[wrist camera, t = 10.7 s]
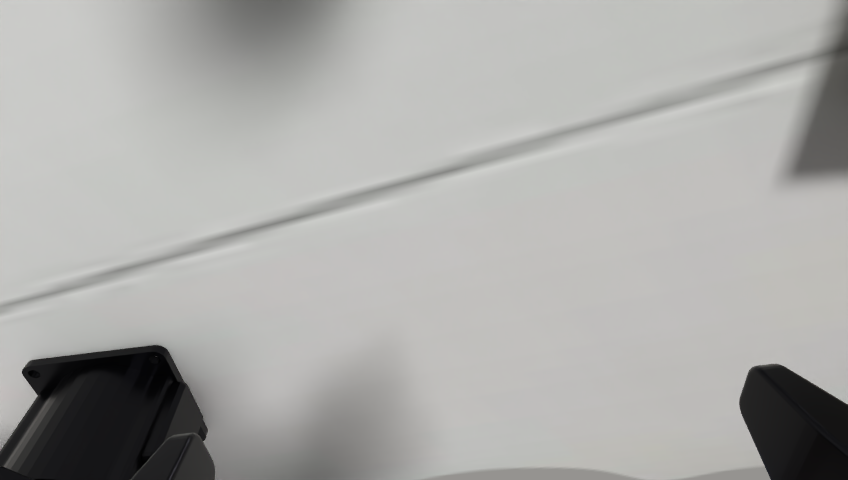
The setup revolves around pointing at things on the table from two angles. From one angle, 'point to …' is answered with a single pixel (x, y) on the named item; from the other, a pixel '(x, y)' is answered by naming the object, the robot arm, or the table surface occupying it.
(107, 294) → the table surface
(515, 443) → the table surface
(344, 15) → the table surface
